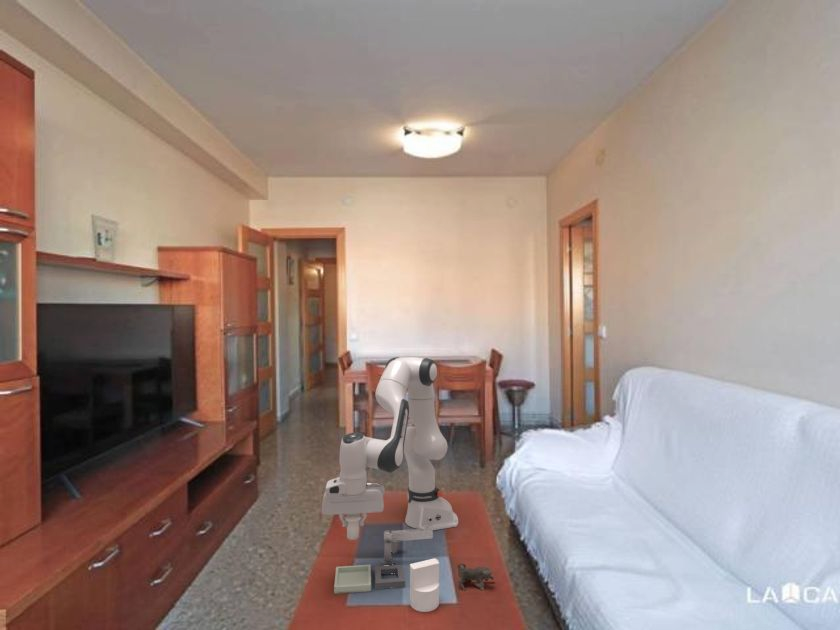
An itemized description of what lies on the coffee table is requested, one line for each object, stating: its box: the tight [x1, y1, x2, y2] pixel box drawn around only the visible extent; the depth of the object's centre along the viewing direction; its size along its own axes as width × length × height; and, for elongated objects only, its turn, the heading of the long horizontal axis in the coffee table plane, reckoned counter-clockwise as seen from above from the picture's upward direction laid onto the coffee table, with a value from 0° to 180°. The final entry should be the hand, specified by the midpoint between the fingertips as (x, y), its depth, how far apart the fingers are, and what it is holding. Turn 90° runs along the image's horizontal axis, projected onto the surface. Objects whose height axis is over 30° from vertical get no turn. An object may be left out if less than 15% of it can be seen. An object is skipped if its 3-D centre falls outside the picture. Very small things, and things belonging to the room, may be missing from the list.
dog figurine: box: [457, 562, 495, 592], centre depth 150 cm, size 12×6×7 cm, turn 87°
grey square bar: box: [383, 528, 434, 543], centre depth 164 cm, size 17×3×3 cm, turn 98°
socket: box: [374, 542, 406, 590], centre depth 156 cm, size 10×17×8 cm, turn 7°
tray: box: [333, 564, 372, 595], centre depth 152 cm, size 12×12×2 cm
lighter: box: [391, 541, 401, 553], centre depth 170 cm, size 7×2×8 cm, turn 83°
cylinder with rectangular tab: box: [409, 557, 440, 613], centre depth 141 cm, size 9×9×12 cm
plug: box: [344, 513, 362, 541], centre depth 151 cm, size 5×5×7 cm
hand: (353, 525), depth 151 cm, fingers closed on plug, 4 cm apart
